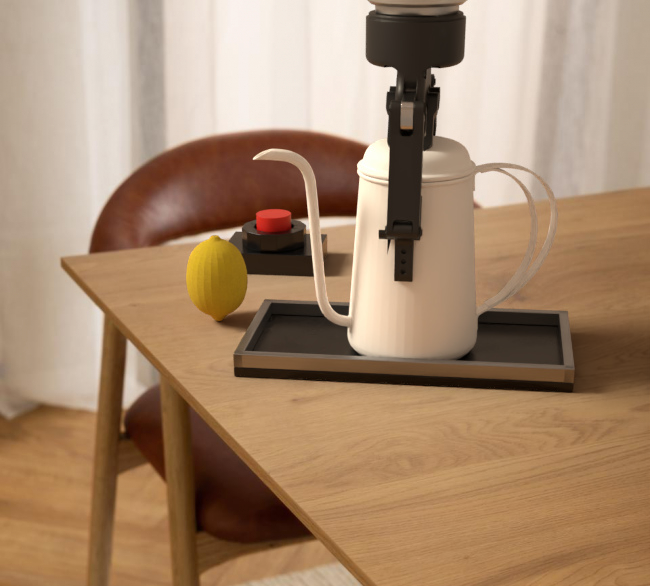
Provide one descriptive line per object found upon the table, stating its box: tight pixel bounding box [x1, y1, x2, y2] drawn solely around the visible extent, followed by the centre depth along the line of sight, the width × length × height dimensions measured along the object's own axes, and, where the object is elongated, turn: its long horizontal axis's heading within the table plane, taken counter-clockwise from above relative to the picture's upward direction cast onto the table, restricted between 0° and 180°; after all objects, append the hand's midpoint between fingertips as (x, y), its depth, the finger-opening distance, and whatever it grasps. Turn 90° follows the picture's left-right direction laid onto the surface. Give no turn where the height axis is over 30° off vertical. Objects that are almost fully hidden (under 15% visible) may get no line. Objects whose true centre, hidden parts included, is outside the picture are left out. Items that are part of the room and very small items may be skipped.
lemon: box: [185, 234, 249, 322], centre depth 107 cm, size 6×6×8 cm
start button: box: [255, 208, 292, 232], centre depth 122 cm, size 4×4×2 cm
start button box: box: [228, 218, 328, 278], centre depth 123 cm, size 10×8×4 cm
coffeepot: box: [252, 120, 559, 360], centre depth 96 cm, size 11×25×19 cm, turn 102°
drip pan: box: [232, 298, 576, 393], centre depth 101 cm, size 27×14×2 cm, turn 82°
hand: (407, 298), depth 99 cm, fingers closed on coffeepot, 9 cm apart
